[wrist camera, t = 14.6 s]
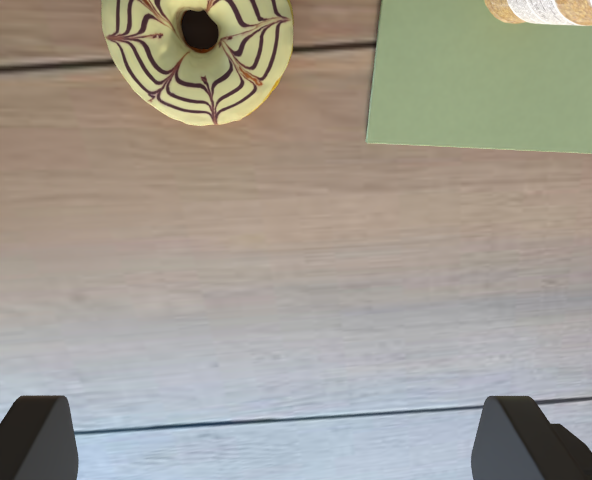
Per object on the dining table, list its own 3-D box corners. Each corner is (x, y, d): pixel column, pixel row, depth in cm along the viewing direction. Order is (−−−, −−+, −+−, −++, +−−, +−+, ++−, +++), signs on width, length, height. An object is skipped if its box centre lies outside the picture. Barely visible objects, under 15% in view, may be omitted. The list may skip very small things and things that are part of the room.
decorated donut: (175, -118, 28) (161, -137, 24) (326, 12, 31) (332, 12, 27) (84, 43, 31) (60, 46, 28) (229, 147, 34) (223, 162, 30)
